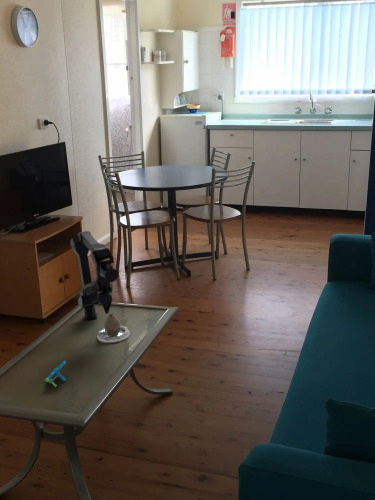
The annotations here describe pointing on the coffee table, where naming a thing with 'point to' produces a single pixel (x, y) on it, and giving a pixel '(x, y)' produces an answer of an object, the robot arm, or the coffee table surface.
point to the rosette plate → (119, 337)
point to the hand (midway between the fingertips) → (107, 309)
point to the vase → (112, 325)
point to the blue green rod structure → (56, 371)
